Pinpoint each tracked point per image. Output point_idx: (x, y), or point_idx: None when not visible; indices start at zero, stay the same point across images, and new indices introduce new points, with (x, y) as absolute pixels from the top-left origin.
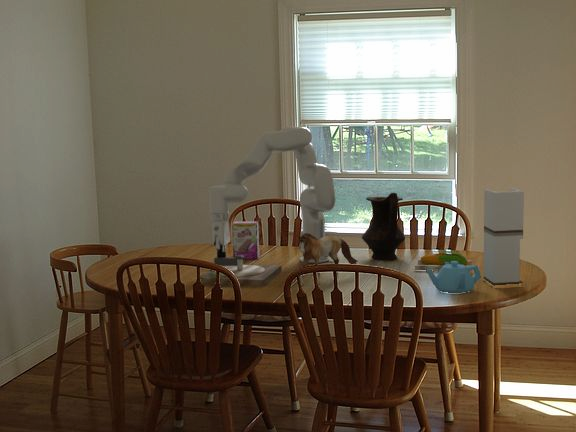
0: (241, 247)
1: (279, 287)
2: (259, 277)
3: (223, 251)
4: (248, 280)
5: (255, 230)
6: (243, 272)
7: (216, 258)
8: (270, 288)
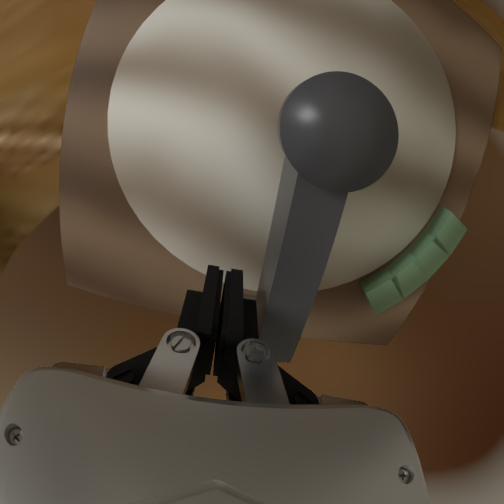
0: None
1: (485, 4)
2: (467, 41)
3: (262, 350)
4: (491, 107)
5: None
6: None
7: (295, 348)
8: (498, 37)
